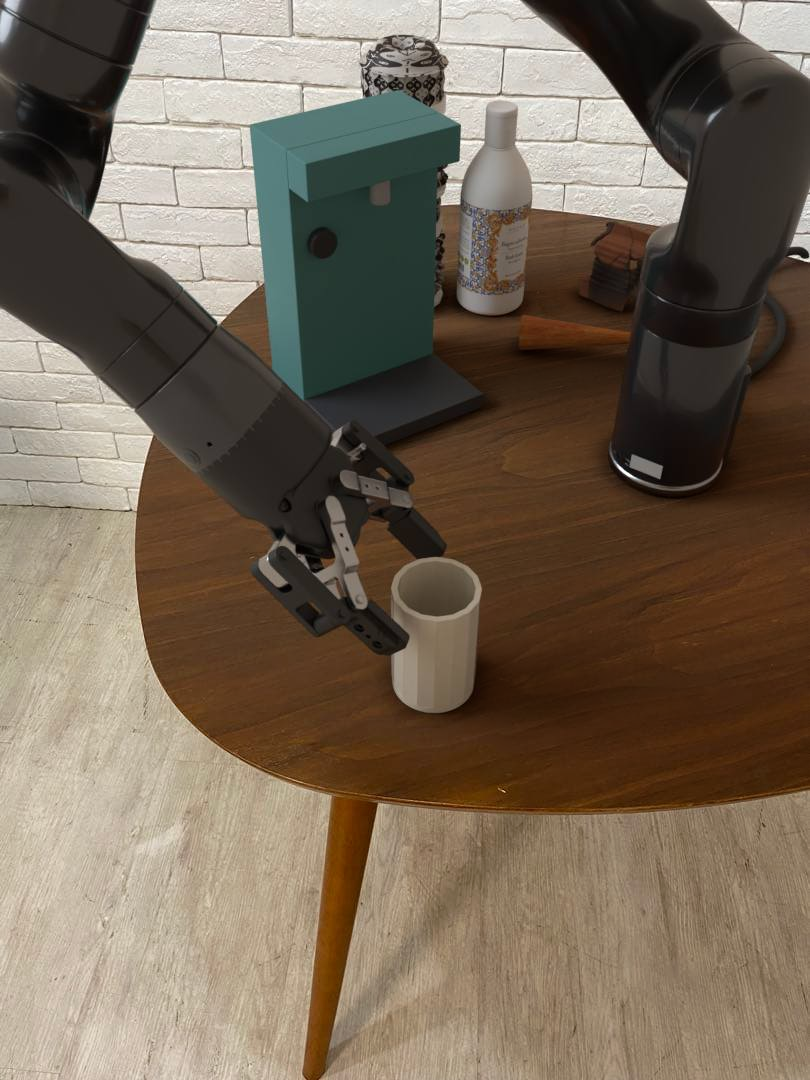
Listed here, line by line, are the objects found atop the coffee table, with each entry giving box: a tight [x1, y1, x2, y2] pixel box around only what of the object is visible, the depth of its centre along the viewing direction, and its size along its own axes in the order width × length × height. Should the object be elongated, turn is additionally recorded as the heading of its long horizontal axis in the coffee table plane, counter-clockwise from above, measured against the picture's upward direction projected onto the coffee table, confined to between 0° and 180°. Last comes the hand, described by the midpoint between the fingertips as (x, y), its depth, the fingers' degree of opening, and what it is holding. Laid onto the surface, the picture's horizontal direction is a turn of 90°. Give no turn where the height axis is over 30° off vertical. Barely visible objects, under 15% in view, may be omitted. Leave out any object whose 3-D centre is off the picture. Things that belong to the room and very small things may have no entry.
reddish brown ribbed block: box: [578, 221, 654, 313], centre depth 109 cm, size 12×10×8 cm
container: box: [390, 556, 483, 714], centre depth 69 cm, size 6×6×9 cm
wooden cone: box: [518, 314, 631, 351], centre depth 100 cm, size 6×6×20 cm
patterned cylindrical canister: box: [358, 34, 450, 308], centre depth 102 cm, size 9×9×25 cm
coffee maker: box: [249, 90, 484, 447], centre depth 89 cm, size 14×14×24 cm
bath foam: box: [456, 100, 533, 316], centre depth 103 cm, size 7×7×20 cm
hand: (418, 599), depth 67 cm, fingers open, 8 cm apart
